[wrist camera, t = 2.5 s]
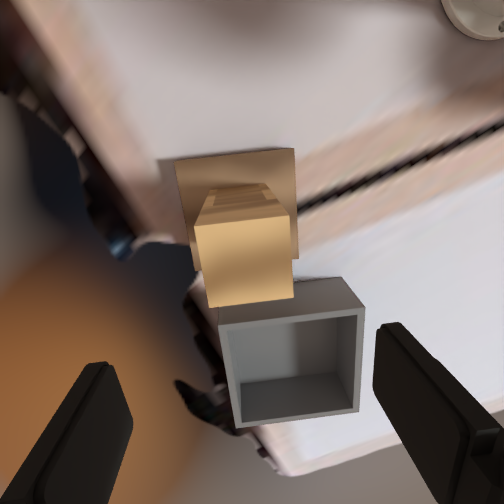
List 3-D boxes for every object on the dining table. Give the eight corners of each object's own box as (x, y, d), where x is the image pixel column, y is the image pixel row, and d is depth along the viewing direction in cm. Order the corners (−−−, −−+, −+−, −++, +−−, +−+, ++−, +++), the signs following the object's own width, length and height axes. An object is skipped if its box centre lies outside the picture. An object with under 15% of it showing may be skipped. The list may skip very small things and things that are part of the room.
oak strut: (209, 189, 29) (193, 226, 17) (265, 183, 29) (289, 215, 17) (218, 242, 31) (209, 307, 19) (270, 236, 31) (293, 297, 19)
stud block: (177, 160, 30) (154, 169, 21) (290, 147, 30) (313, 151, 21) (197, 263, 34) (185, 306, 26) (295, 252, 34) (316, 290, 26)
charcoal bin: (220, 291, 36) (217, 325, 29) (341, 276, 36) (365, 307, 30) (235, 383, 42) (235, 428, 35) (339, 369, 42) (359, 411, 35)
